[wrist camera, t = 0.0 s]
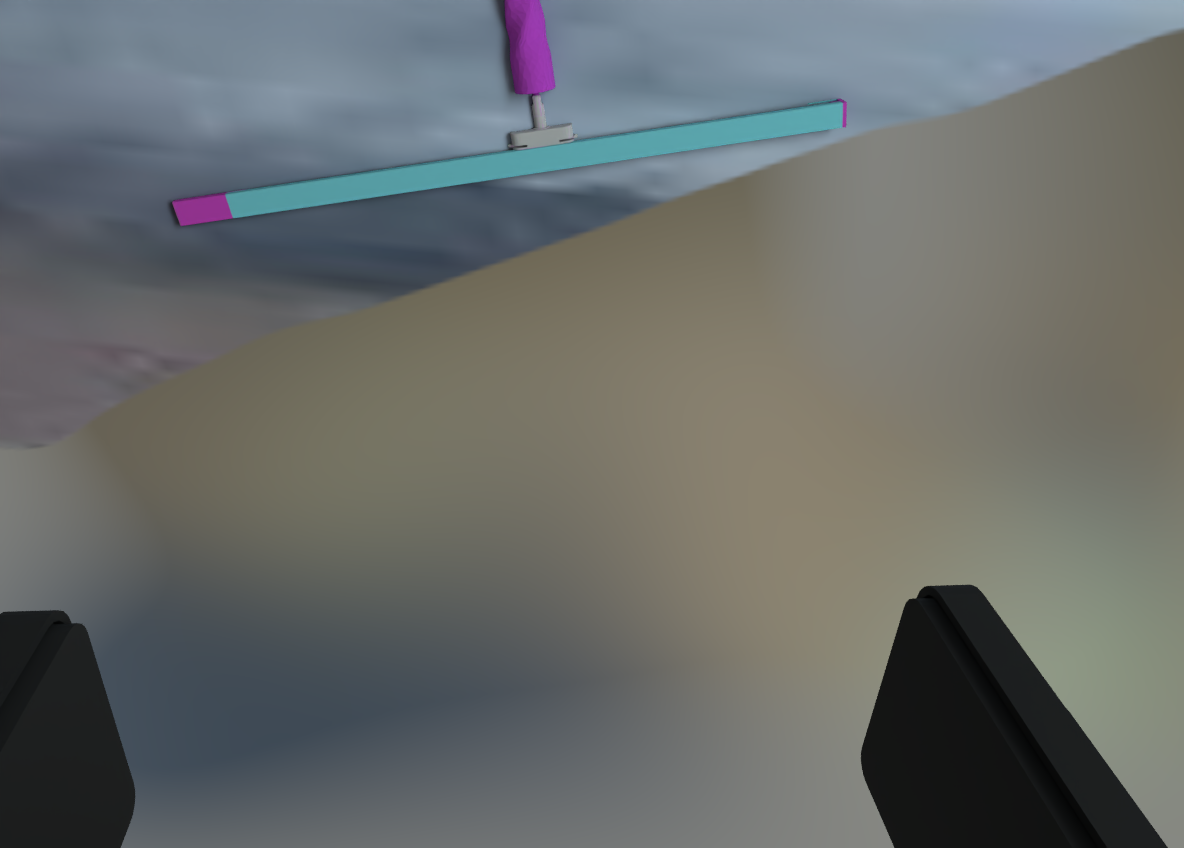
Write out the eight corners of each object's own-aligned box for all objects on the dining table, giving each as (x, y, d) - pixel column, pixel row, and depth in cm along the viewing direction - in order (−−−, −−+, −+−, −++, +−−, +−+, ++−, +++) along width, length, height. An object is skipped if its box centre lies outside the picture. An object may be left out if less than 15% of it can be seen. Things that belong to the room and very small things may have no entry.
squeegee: (855, -150, 33) (848, 128, 38) (840, -148, 34) (835, 119, 39) (78, -37, 32) (178, 228, 37) (97, -40, 34) (190, 215, 39)
